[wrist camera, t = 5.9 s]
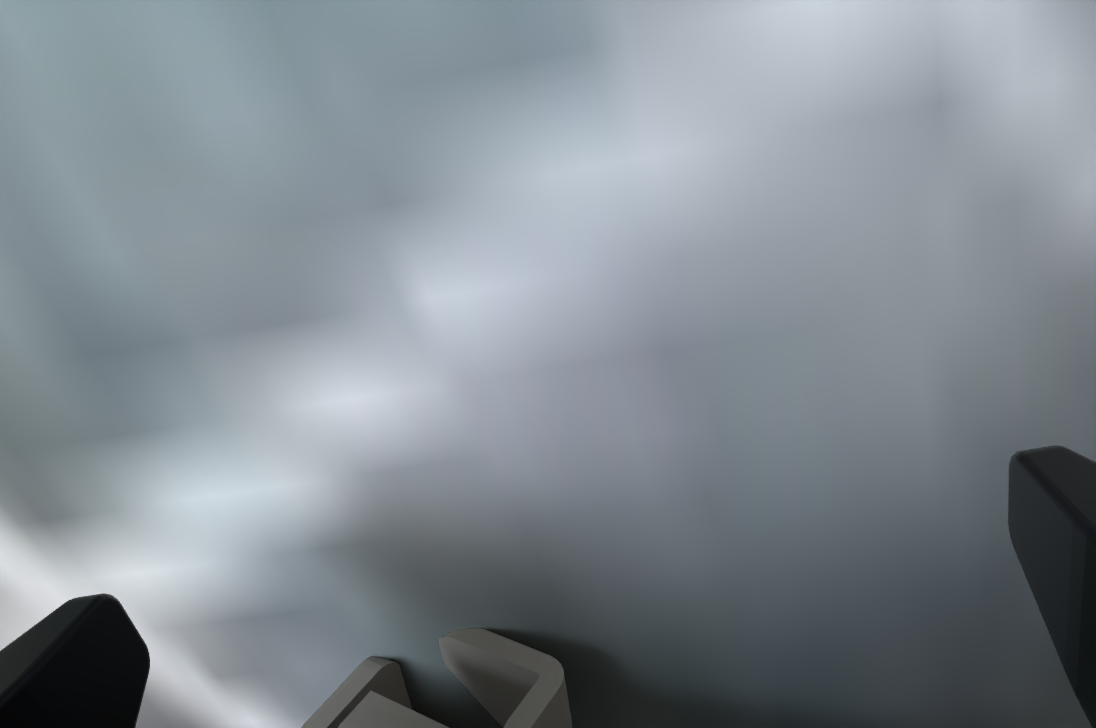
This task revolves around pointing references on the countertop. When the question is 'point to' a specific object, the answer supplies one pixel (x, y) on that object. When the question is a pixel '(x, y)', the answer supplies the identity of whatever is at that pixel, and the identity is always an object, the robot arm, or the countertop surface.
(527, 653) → the bracket
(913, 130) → the countertop surface
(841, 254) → the countertop surface
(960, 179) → the countertop surface
